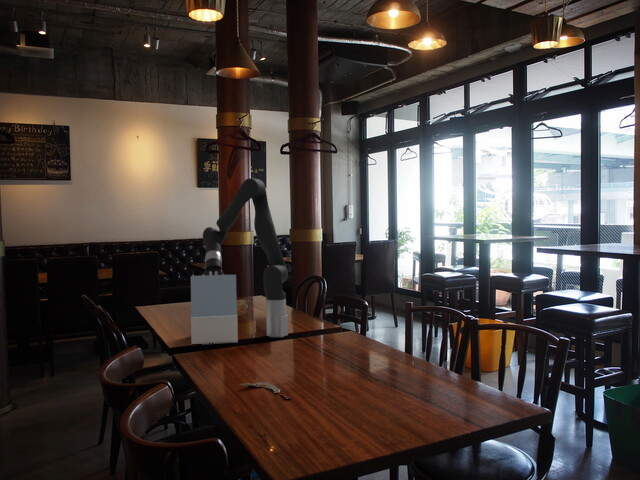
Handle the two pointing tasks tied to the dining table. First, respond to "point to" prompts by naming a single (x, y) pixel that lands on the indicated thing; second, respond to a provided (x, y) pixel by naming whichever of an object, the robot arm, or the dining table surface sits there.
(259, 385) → the jawbone
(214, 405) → the dining table surface
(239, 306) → the tin
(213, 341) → the carton
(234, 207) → the robot arm
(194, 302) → the lid flap
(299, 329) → the dining table surface
